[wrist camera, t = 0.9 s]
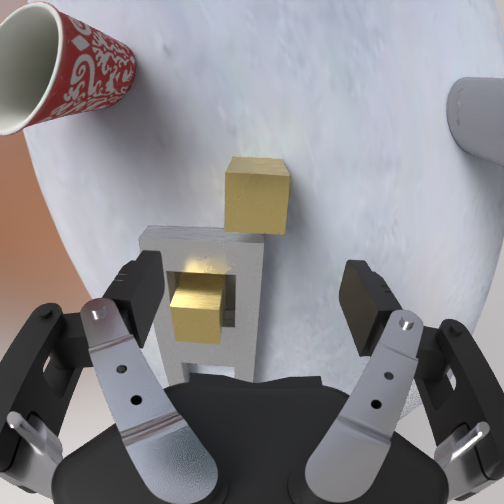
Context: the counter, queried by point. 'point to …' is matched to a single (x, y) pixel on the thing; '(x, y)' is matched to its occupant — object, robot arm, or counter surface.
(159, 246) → the white socket board
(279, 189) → the brass block
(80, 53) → the mug
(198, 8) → the counter surface
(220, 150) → the counter surface
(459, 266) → the counter surface
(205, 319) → the seated brass block
